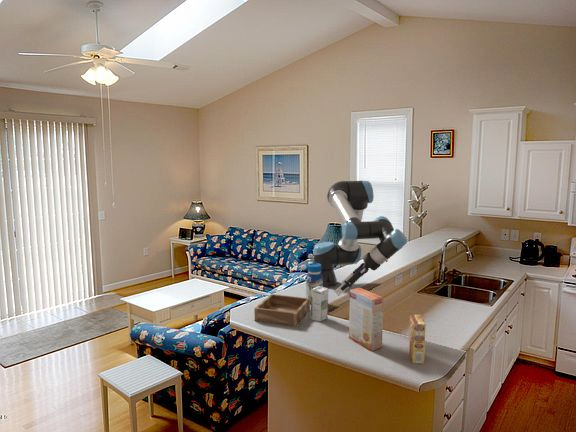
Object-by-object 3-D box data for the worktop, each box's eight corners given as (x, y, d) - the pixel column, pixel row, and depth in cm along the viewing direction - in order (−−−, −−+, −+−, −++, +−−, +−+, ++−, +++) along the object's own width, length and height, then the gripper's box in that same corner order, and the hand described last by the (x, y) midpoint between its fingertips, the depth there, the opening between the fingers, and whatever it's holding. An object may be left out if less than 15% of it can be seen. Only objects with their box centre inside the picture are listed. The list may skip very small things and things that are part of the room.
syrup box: (317, 315, 198) (317, 285, 195) (328, 318, 194) (328, 288, 192) (310, 319, 193) (310, 288, 191) (321, 322, 190) (321, 291, 187)
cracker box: (382, 348, 165) (384, 296, 162) (370, 351, 162) (372, 299, 159) (359, 334, 177) (360, 286, 174) (348, 337, 174) (349, 289, 171)
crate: (271, 305, 210) (271, 293, 209) (310, 310, 203) (310, 298, 202) (254, 320, 192) (254, 308, 191) (296, 327, 185) (296, 314, 184)
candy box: (424, 364, 153) (426, 324, 150) (412, 363, 153) (414, 323, 151) (419, 352, 161) (421, 314, 159) (408, 352, 162) (409, 314, 159)
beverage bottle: (319, 299, 218) (320, 261, 215) (325, 305, 210) (325, 266, 206) (304, 300, 216) (304, 262, 213) (308, 306, 208) (308, 267, 204)
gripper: (377, 273, 168) (339, 304, 175) (385, 257, 191) (351, 286, 198) (363, 259, 169) (327, 291, 176) (373, 245, 192) (340, 274, 199)
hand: (340, 288), depth 187 cm, fingers open, 13 cm apart
